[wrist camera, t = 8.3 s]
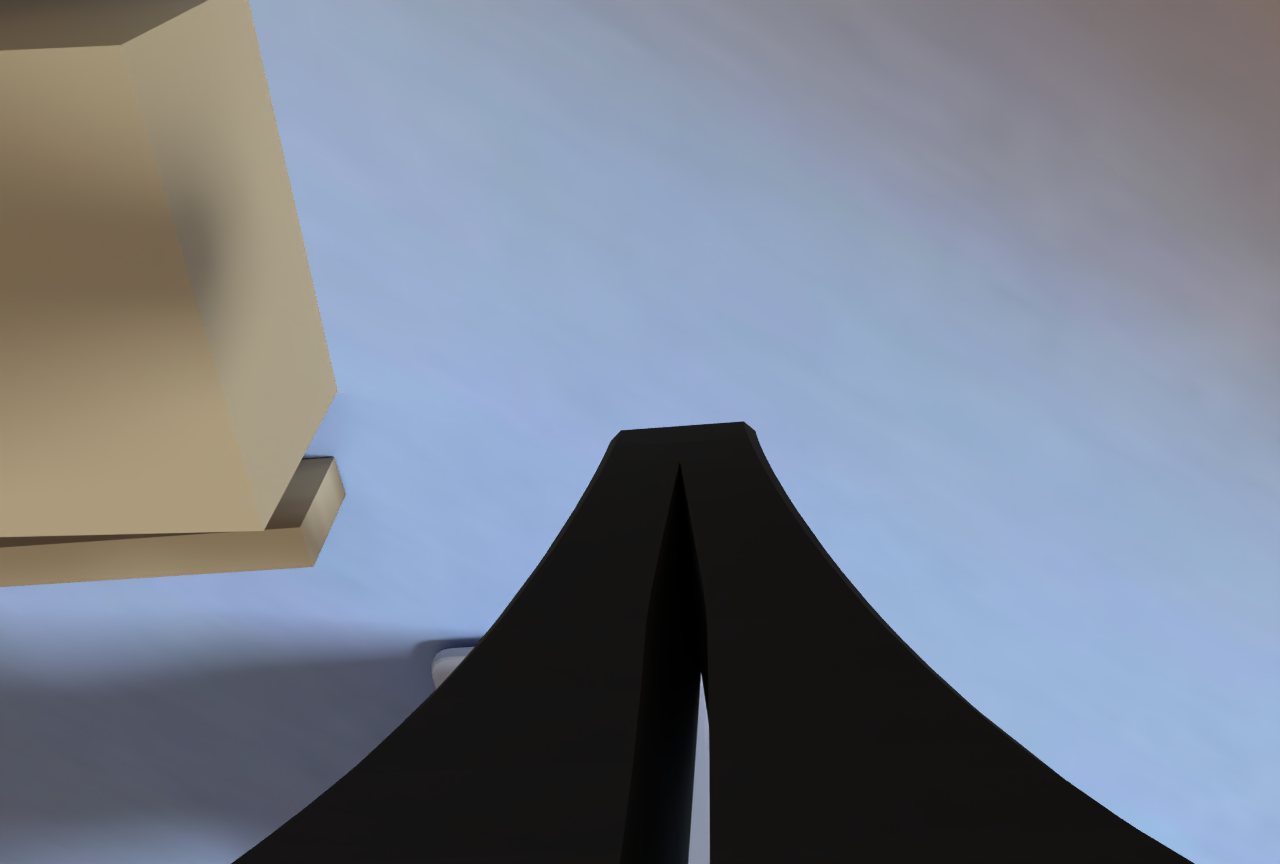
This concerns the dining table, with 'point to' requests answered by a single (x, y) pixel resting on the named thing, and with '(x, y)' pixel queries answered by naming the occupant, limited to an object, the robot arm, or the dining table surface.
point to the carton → (148, 274)
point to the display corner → (187, 542)
